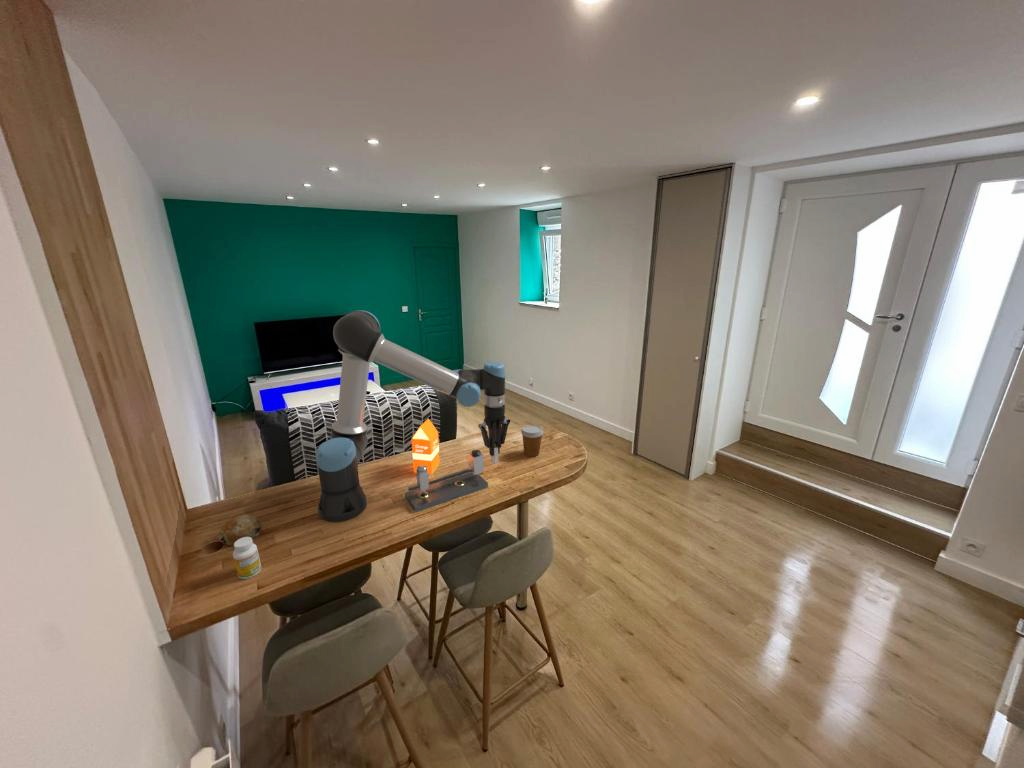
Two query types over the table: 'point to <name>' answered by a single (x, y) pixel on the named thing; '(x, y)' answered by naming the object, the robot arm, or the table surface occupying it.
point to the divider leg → (476, 462)
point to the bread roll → (240, 529)
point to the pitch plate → (442, 488)
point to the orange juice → (426, 447)
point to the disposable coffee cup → (532, 439)
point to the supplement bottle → (246, 558)
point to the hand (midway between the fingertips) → (494, 462)
